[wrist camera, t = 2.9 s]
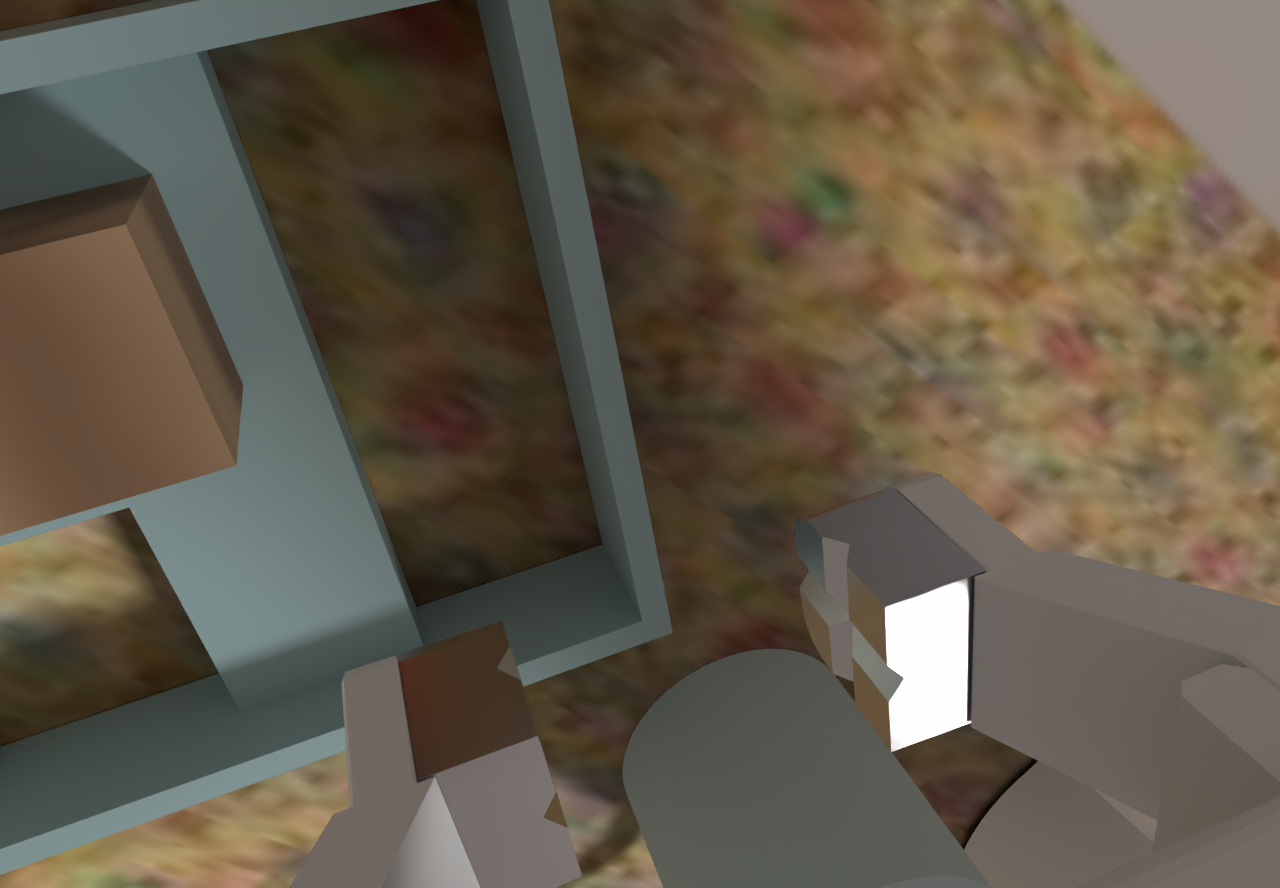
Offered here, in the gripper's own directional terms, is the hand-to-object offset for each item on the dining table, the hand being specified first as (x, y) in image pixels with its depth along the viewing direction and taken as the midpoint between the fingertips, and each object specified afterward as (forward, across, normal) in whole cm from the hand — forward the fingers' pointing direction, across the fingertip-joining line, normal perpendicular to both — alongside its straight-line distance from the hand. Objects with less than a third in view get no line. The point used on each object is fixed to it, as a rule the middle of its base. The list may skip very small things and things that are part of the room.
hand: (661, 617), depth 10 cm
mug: (+17, -4, +24) cm, 30 cm away
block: (+15, +8, 0) cm, 17 cm away
